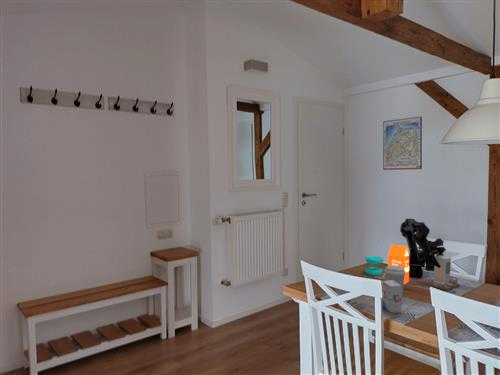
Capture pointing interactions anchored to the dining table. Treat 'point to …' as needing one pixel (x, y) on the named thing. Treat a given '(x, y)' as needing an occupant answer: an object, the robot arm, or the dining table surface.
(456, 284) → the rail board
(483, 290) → the dining table surface
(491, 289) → the dining table surface
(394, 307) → the ink box
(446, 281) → the module
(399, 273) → the grey canister
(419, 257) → the robot arm
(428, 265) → the black slab
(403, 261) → the orange juice
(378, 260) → the donuts
